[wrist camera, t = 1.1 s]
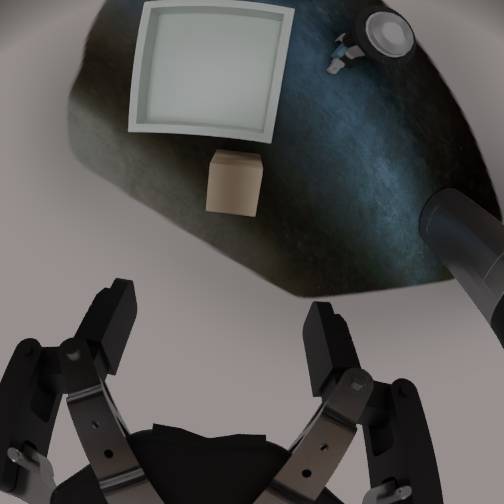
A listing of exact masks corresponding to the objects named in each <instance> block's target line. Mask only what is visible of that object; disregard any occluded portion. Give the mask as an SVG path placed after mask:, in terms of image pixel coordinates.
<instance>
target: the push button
mask: <svg viewBox="0 0 504 504" xmlns="http://www.w3.org/2000/svg"><path fill="white" fill-rule="evenodd" d="M368 15H371V16H370V17H369V18H368V20H366V21H364V20H365V18H366V17H367V16H368ZM338 40H340V41H341V42H342V43H341V44H340V45H339V46H338V48H337V49H336V50H335V51H334V52H333V53H332V55H331V57H332V58H333V60H332V62H331V63H332V64H331V65H330V66H329V67H328V69H327V71H328V72H329V73H330V74H336V73H337V72H338V70H339V69H340V68H343V67H344V66H347V67H348V68H353V67H355V66H356V65H357V63H358V62H359V61H360V60H361V59H362V58H366V57H367V58H369V59H371V60H373V61H375V62H377V63H381V64H383V65H387V66H400V65H403V64H406V63H407V62H409V61H410V60H411V59H412V57H413V56H414V53H415V50H416V39H415V35H414V32H413V30H412V28H411V26H410V25H409V23H408V22H407V21H406V19H405V18H404V17H402V16H401V15H400V14H399V13H398V12H396V11H395V10H393V9H391V8H388V7H385V6H381V5H372V6H368V7H366V8H364V9H362V10H361V11H360V12H359V13H358V14H357V16H356V18H355V21H354V25H353V28H352V30H350V31H349V32H347V33H346V34H345V33H344V34H342V35H340V36H339V37H338V38H337V39H336V41H338ZM336 41H335V42H336ZM387 56H390V57H394V58H392V59H389V58H386V57H387ZM333 68H334V70H333Z"/></svg>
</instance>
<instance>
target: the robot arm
mask: <svg viewBox="0 0 504 504" xmlns="http://www.w3.org/2000/svg"><path fill="white" fill-rule="evenodd" d="M419 228H420V234H421V237H422V239H423V240H424V241H425V243H426V244H427V245H428V246H429V247H430V248H431V249H432V250H433V252H434V253H435V254H436V255H437V256H438V258H439V259H440V260H441V261H442V262H443V264H444V265H445V266H446V267H447V268H448V270H449V271H450V272H451V273H452V274H453V276H454V277H455V278H456V279H457V280H458V282H459V283H460V284H461V286H462V287H463V288H464V290H465V291H466V292H467V294H468V295H469V296H470V298H471V299H472V301H473V302H474V303H475V305H476V306H477V307H478V309H479V310H480V312H481V313H482V314H483V316H484V317H485V319H486V320H487V322H488V323H489V325H490V326H491V328H492V329H493V331H494V332H495V334H496V335H497V337H498V339H499V341H500V343H501V345H502V347H503V348H504V225H503V224H502V223H501V222H499V221H498V220H497V219H496V218H495V217H493V216H492V215H491V214H489V213H488V212H487V211H486V210H484V209H483V208H482V207H480V206H479V205H478V204H476V203H475V202H474V201H472V200H471V199H470V198H468V197H467V196H465V195H464V194H463V193H461V192H460V191H458V190H456V189H454V188H446V189H442V190H440V191H438V192H437V193H436V194H434V195H433V196H432V197H431V198H430V199H429V201H428V202H427V204H426V205H425V207H424V209H423V211H422V214H421V218H420V224H419ZM136 315H137V302H136V296H135V290H134V284H133V281H132V280H126V279H120V278H116V279H115V280H114V282H113V284H112V286H111V287H110V289H109V288H104V289H103V290H101V291H100V292H99V293H98V294H97V295H96V297H95V298H94V300H93V302H92V305H90V307H89V309H88V312H87V313H86V315H85V317H84V318H83V320H82V322H81V324H80V326H79V328H78V330H77V332H76V334H75V336H74V337H73V338H69V339H66V340H65V341H63V342H62V343H61V344H60V346H59V347H42V346H41V345H40V343H39V342H38V341H37V340H36V339H33V338H27V339H24V340H22V341H21V342H20V343H19V344H18V345H17V347H16V349H15V351H14V353H13V355H12V357H11V359H10V361H9V364H8V366H7V369H6V371H5V373H4V375H3V378H2V380H1V382H0V491H2V492H5V493H7V494H10V495H12V496H15V497H18V498H20V499H22V500H23V501H25V502H27V503H29V504H344V503H343V502H342V501H341V500H339V499H338V498H337V497H336V496H335V495H334V494H333V493H332V492H331V491H330V490H329V489H327V488H326V487H325V485H326V484H327V482H328V480H329V479H330V477H331V476H332V474H333V473H334V471H335V469H336V468H337V466H338V464H339V463H340V461H341V459H342V457H343V456H344V454H345V452H346V451H347V449H348V447H349V445H350V443H351V442H352V440H353V438H354V436H355V434H356V432H357V427H356V424H361V425H362V426H363V433H364V439H365V446H366V453H367V460H368V468H369V477H370V486H371V489H370V490H369V491H368V492H367V493H366V494H365V496H364V498H363V502H362V504H444V503H443V497H442V490H441V484H440V478H439V473H438V468H437V463H436V458H435V453H434V449H433V445H432V441H431V437H430V433H429V429H428V425H427V421H426V418H425V414H424V411H423V407H422V404H421V401H420V397H419V395H418V392H417V388H416V387H415V385H414V384H413V383H412V382H411V381H409V380H407V379H404V378H400V379H397V380H395V381H394V382H393V383H392V384H387V383H382V382H378V381H374V380H373V378H372V377H371V375H370V374H369V373H368V372H367V371H365V370H364V369H361V366H360V363H359V359H358V356H357V353H356V350H355V347H354V344H353V341H352V338H351V335H350V333H349V329H348V326H347V323H346V321H345V320H344V319H343V318H342V317H341V315H340V314H334V311H333V308H332V305H331V304H330V302H318V301H314V302H313V303H312V305H311V308H310V310H309V313H308V315H307V318H306V320H305V323H304V326H303V341H304V346H305V351H306V358H307V363H308V369H309V375H310V381H311V387H312V393H313V397H322V403H321V405H320V406H319V408H318V409H317V411H316V412H315V414H314V415H313V417H312V418H311V420H310V421H309V423H308V424H307V426H306V427H305V428H304V430H303V431H302V433H301V434H300V435H299V437H298V438H297V439H296V440H295V442H294V443H293V444H292V445H291V447H290V448H289V449H288V450H286V449H285V448H283V447H281V446H279V445H277V444H275V443H271V442H269V441H266V435H249V434H235V435H230V436H223V437H216V438H206V437H203V436H200V435H197V434H195V433H192V432H189V431H186V430H184V429H181V428H176V427H170V426H165V425H159V424H153V428H152V429H150V430H142V431H139V432H136V433H133V434H130V432H129V430H128V428H127V426H126V424H125V423H124V421H123V419H122V417H121V415H120V414H119V411H118V409H117V407H116V405H115V403H114V400H113V398H112V396H111V394H110V391H109V389H108V387H107V384H106V382H105V379H106V376H107V374H111V375H116V372H117V369H118V366H119V363H120V360H121V357H122V354H123V351H124V349H125V346H126V343H127V340H128V337H129V335H130V332H131V329H132V326H133V324H134V321H135V319H136ZM63 394H68V397H67V398H66V402H67V406H68V409H69V411H70V415H71V418H72V420H73V423H74V426H75V429H76V431H77V434H78V437H79V439H80V441H81V444H82V446H83V448H84V451H85V453H86V456H87V458H88V460H89V462H90V464H89V465H87V466H86V467H84V468H83V469H82V470H80V471H79V472H77V473H76V474H74V475H73V476H71V477H70V478H68V479H67V480H65V481H64V482H63V483H61V484H60V485H58V486H56V484H55V482H54V479H53V476H54V473H53V468H52V465H51V463H50V462H49V460H48V459H47V454H48V449H49V444H50V440H51V436H52V431H53V427H54V423H55V419H56V416H57V412H58V409H59V405H60V402H61V398H62V395H63Z"/></svg>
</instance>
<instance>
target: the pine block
mask: <svg viewBox="0 0 504 504" xmlns="http://www.w3.org/2000/svg"><path fill="white" fill-rule="evenodd" d="M262 173H263V166H262V161H261V156H260V154H255V153H247V152H239V151H231V150H222V149H217V151H216V152H215V154H214V156H213V158H212V160H211V162H210V170H209V180H208V191H207V203H206V211H212V212H221V213H230V214H238V215H246V216H254V217H255V215H256V209H257V203H258V197H259V191H260V185H261V179H262Z"/></svg>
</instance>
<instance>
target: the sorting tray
mask: <svg viewBox="0 0 504 504" xmlns="http://www.w3.org/2000/svg"><path fill="white" fill-rule="evenodd" d="M294 10H295V9H292V8H287V7H282V6H276V5H270V4H263V3H255V2H246V1H235V0H161V1H150V2H145V3H144V8H143V12H142V17H141V22H140V27H139V33H138V39H137V45H136V51H135V58H134V66H133V75H132V84H131V95H130V108H129V127H128V132H158V133H179V134H194V135H207V136H217V137H227V138H235V139H244V140H251V141H258V142H265V143H271V141H272V135H273V130H274V124H275V118H276V113H277V107H278V101H279V95H280V90H281V84H282V78H283V73H284V67H285V61H286V55H287V50H288V44H289V38H290V33H291V27H292V21H293V15H294Z"/></svg>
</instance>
